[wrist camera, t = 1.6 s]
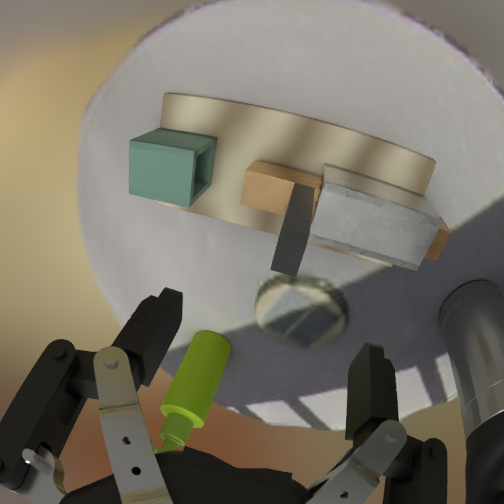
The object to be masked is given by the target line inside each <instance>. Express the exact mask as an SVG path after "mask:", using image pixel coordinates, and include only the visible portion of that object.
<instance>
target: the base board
mask: <svg viewBox="0 0 504 504" xmlns="http://www.w3.org/2000/svg"><path fill="white" fill-rule="evenodd" d="M161 128H167V129H174V130H180V131H186V132H192V133H198V134H204V135H209V136H215V137H217V144H216V151H215V158H214V166H213V174H212V181H211V186H210V187H209V188H208V189H207V190H206V191H205V192H204V193H203V194H202V195H201V196H200V197H199V198H198V199H197V200H196V201H195V203H194V204H193V205H192V206H191V207H190V208H186V207H182V206H178V205H174V204H170V203H166V202H162V201H158V200H157V201H156V203H157V204H161V205H165V206H169V207H173V208H177V209H181V210H185V211H189V212H193V213H197V214H200V215H204V216H208V217H212V218H216V219H220V220H224V221H228V222H231V223H235V224H239V225H243V226H247V227H250V228H254V229H258V230H261V231H265V232H269V233H273V234H276V235H280V231H281V227H282V224H283V221H284V217H285V216H284V215H280V214H276V213H272V212H269V211H265V210H261V209H257V208H253V207H249V206H245V205H241V204H240V200H241V194H242V189H243V183H244V177H245V172H246V169H247V168H248V167H249V166H250V164H251V163H252V162H253V161H254V160H255V161H259V162H264V163H268V164H272V165H276V166H280V167H284V168H288V169H292V170H296V171H299V172H303V173H307V174H310V175H314V176H318V177H321V174H322V170H323V167H324V163H329V164H332V165H335V166H339V167H342V168H345V169H349V170H352V171H355V172H358V173H361V174H365V175H368V176H371V177H374V178H377V179H380V180H383V181H386V182H389V183H391V184H394V185H397V186H400V187H403V188H406V189H408V190H411V191H414V192H416V193H419V194H422V195H424V193H425V191H426V188H427V186H428V183H429V181H430V178H431V175H432V173H433V170H434V167H435V165H436V161H435V160H434V159H432V158H429V157H427V156H424V155H422V154H420V153H417V152H415V151H412V150H409V149H407V148H404V147H402V146H399V145H396V144H393V143H391V142H388V141H385V140H382V139H379V138H376V137H374V136H371V135H368V134H365V133H361V132H358V131H355V130H352V129H349V128H345V127H342V126H339V125H335V124H332V123H328V122H325V121H321V120H317V119H313V118H310V117H306V116H302V115H298V114H293V113H289V112H285V111H280V110H276V109H271V108H267V107H262V106H257V105H251V104H246V103H241V102H235V101H229V100H223V99H216V98H209V97H202V96H194V95H186V94H177V93H164V97H163V106H162V117H161ZM307 243H309V244H313V245H316V246H320V247H323V248H327V249H331V250H334V251H338V252H341V253H345V254H348V255H352V256H355V257H359V258H362V259H365V260H369V261H372V262H376V263H379V264H383V265H386V266H389V267H392V265H393V264H391V263H387V262H384V261H381V260H377V259H374V258H370V257H367V256H364V255H360V254H357V253H353V252H350V251H346V250H343V249H339V248H336V247H332V246H329V245H325V244H322V243H318V242H315V241H311V240H308V241H307Z"/></svg>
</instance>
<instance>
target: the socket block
mask: <svg viewBox="0 0 504 504" xmlns="http://www.w3.org/2000/svg"><path fill="white" fill-rule="evenodd" d="M216 144H217V137H215V136H209V135H204V134H198V133H192V132H186V131H180V130H174V129H167V128H158V129H156V130H153V131H151V132H148V133H146V134H143V135H141V136H139V137H136V138H134V139H132V140H130V148H129V194H133V195H137V196H141V197H145V198H149V199H153V200H158V201H162V202H166V203H170V204H174V205H178V206H182V207H186V208H190V207H191V206H192V205H193V204H194V203H195V201H196V200H197V199H198V198H199V197H200V196H201V195H202V194H203V193H204V192H205V191H206V190H207V189H208V188H209V187H210V186H211V181H212V174H213V166H214V158H215V151H216Z"/></svg>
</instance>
